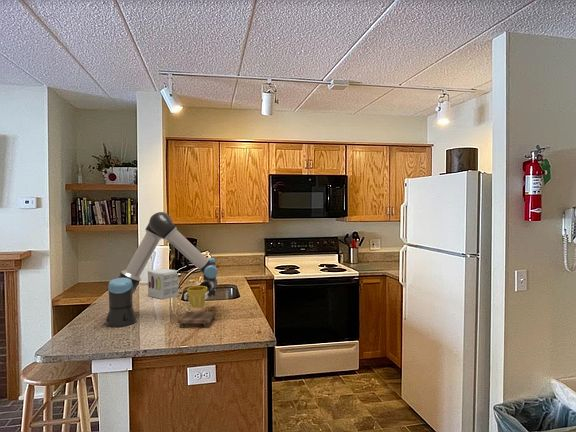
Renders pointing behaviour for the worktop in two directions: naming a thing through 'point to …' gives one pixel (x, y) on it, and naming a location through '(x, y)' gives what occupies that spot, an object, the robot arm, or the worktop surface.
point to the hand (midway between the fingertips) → (195, 296)
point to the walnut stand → (197, 318)
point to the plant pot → (197, 296)
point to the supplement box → (163, 283)
